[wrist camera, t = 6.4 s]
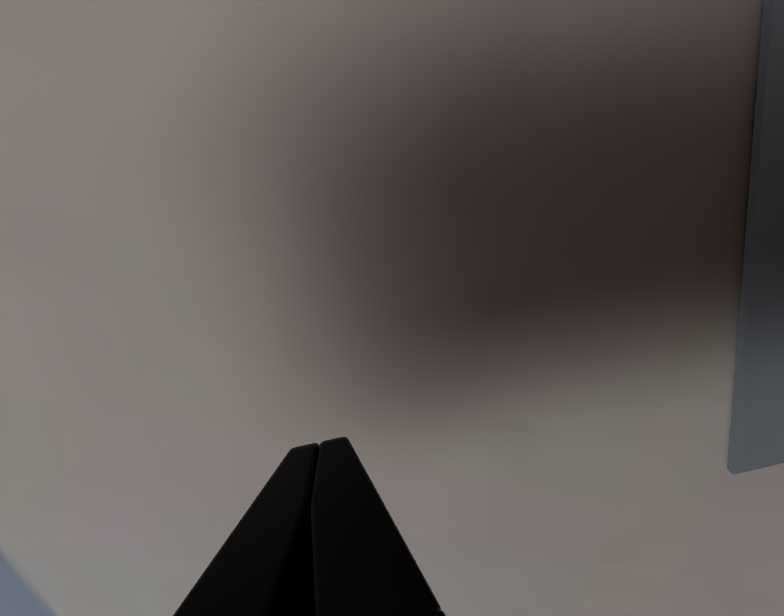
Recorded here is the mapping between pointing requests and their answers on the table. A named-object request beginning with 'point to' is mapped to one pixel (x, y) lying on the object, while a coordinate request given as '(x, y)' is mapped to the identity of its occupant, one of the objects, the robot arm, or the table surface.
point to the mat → (763, 271)
